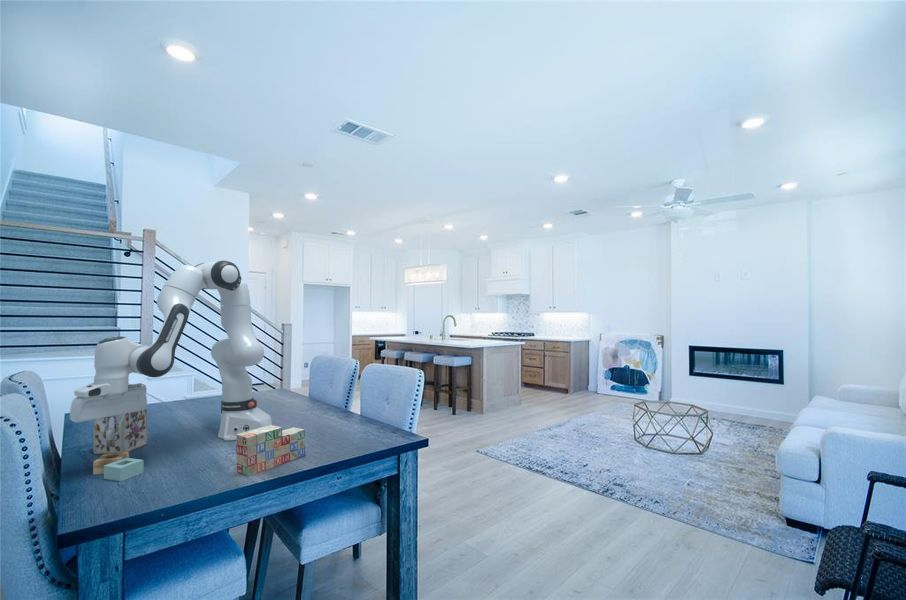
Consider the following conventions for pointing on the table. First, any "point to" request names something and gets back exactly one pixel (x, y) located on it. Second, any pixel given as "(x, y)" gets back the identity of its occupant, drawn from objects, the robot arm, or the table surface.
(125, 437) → the decorative jar
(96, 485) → the table surface
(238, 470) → the stack of blocks
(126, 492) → the table surface
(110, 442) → the steel needle peg
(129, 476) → the green block with hole
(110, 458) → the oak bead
